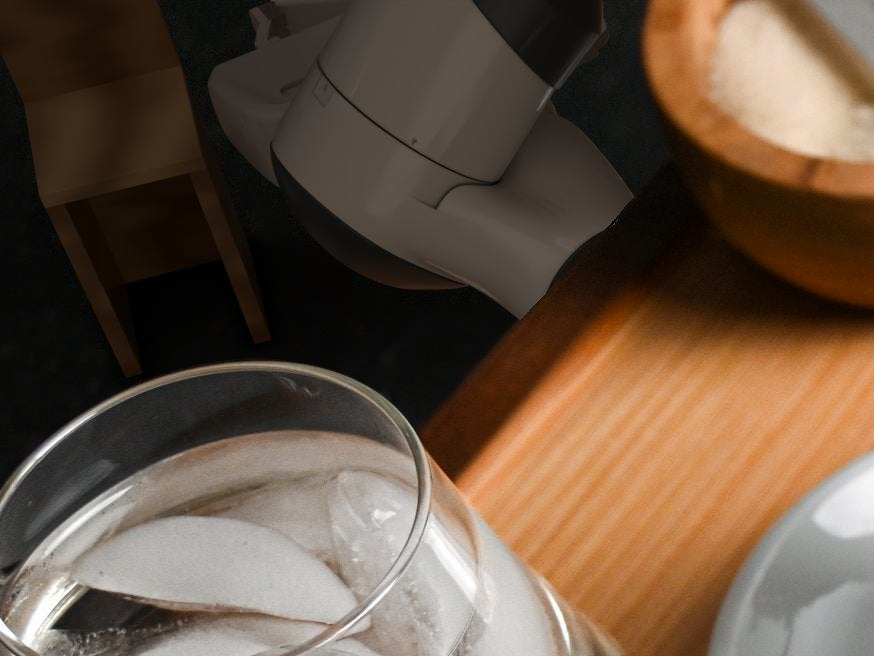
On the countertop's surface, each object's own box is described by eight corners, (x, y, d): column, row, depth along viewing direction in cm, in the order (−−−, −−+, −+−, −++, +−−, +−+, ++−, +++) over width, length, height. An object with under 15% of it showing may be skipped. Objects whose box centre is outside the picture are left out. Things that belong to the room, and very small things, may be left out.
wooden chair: (128, 385, 130) (-60, -10, 105) (110, 287, 135) (-73, -112, 110) (274, 347, 131) (123, -52, 106) (251, 252, 137) (101, -151, 111)
